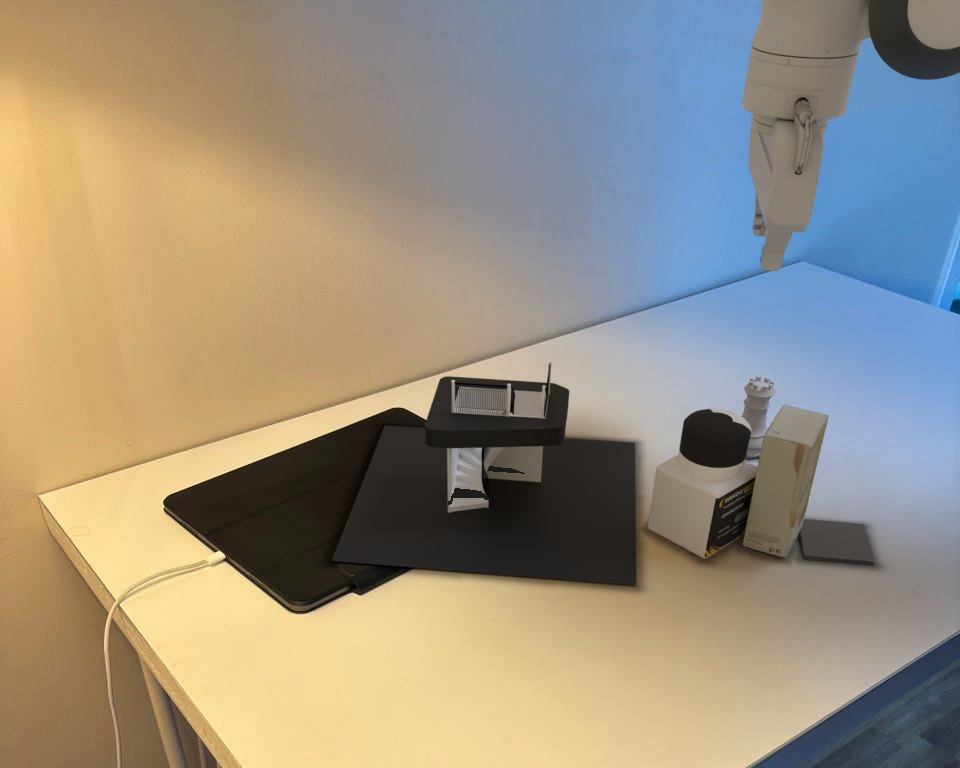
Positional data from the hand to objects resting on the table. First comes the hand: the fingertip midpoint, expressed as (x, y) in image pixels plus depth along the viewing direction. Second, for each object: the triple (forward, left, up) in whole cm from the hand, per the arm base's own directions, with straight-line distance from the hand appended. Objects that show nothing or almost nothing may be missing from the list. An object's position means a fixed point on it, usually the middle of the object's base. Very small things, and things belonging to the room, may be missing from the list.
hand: (765, 250), depth 94 cm
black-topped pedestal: (+24, +13, -22) cm, 35 cm away
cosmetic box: (-4, +16, -22) cm, 27 cm away
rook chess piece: (-2, -1, -22) cm, 22 cm away
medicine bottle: (+4, +16, -22) cm, 27 cm away
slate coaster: (-9, +16, -22) cm, 29 cm away
